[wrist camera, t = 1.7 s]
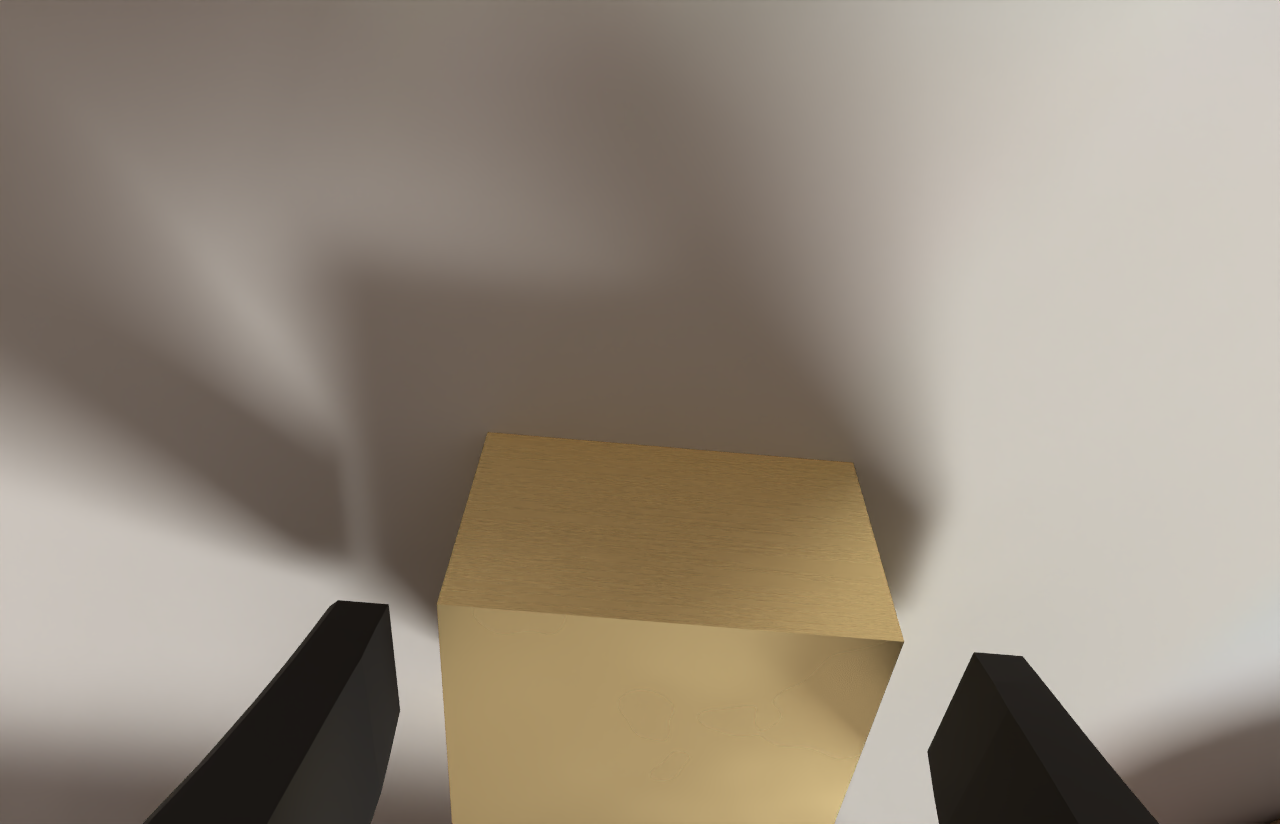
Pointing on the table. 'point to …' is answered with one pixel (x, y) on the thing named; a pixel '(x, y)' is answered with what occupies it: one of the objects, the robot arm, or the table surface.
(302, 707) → the robot arm
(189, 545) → the table surface
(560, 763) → the brass cube
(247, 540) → the table surface
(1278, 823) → the bread roll
